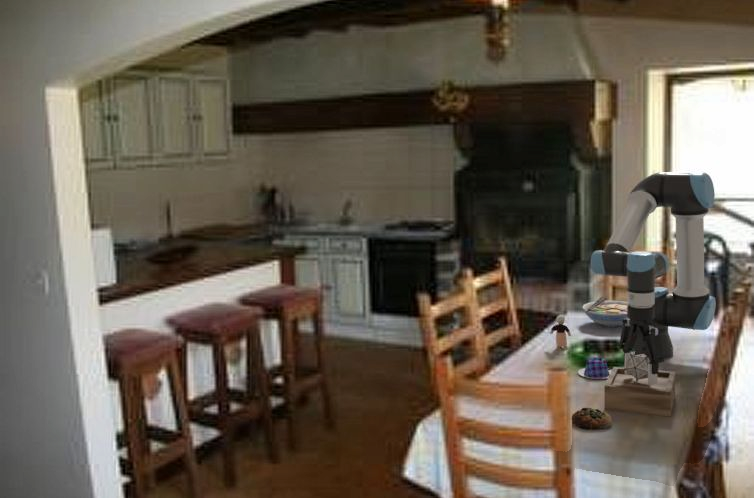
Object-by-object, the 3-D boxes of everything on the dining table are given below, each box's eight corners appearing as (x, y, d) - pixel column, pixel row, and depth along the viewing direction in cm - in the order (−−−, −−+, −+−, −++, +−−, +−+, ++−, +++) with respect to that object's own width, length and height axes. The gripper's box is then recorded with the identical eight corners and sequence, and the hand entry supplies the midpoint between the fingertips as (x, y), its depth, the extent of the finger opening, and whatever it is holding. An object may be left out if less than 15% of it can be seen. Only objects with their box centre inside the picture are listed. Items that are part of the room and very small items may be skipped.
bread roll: (567, 427, 213) (568, 409, 213) (575, 418, 223) (576, 401, 223) (609, 434, 209) (610, 415, 208) (614, 424, 219) (615, 407, 219)
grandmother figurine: (571, 347, 286) (571, 314, 284) (571, 350, 283) (570, 316, 280) (550, 346, 289) (550, 313, 287) (549, 349, 285) (549, 315, 283)
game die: (646, 393, 227) (660, 373, 220) (618, 382, 228) (631, 362, 221) (649, 370, 234) (662, 350, 227) (621, 360, 235) (634, 340, 228)
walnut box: (613, 388, 241) (613, 366, 240) (675, 394, 234) (675, 371, 232) (604, 409, 225) (604, 385, 224) (670, 416, 217) (670, 391, 216)
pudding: (606, 367, 262) (606, 352, 261) (621, 379, 250) (621, 363, 250) (572, 370, 261) (572, 355, 260) (585, 382, 249) (585, 366, 248)
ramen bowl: (631, 335, 297) (631, 314, 296) (573, 329, 309) (573, 309, 308) (648, 320, 317) (648, 300, 316) (593, 314, 330) (593, 296, 329)
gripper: (606, 299, 234) (606, 370, 237) (656, 315, 213) (656, 392, 216) (626, 296, 236) (626, 366, 240) (678, 311, 215) (677, 388, 219)
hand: (640, 378), depth 228 cm, fingers closed on game die, 10 cm apart
